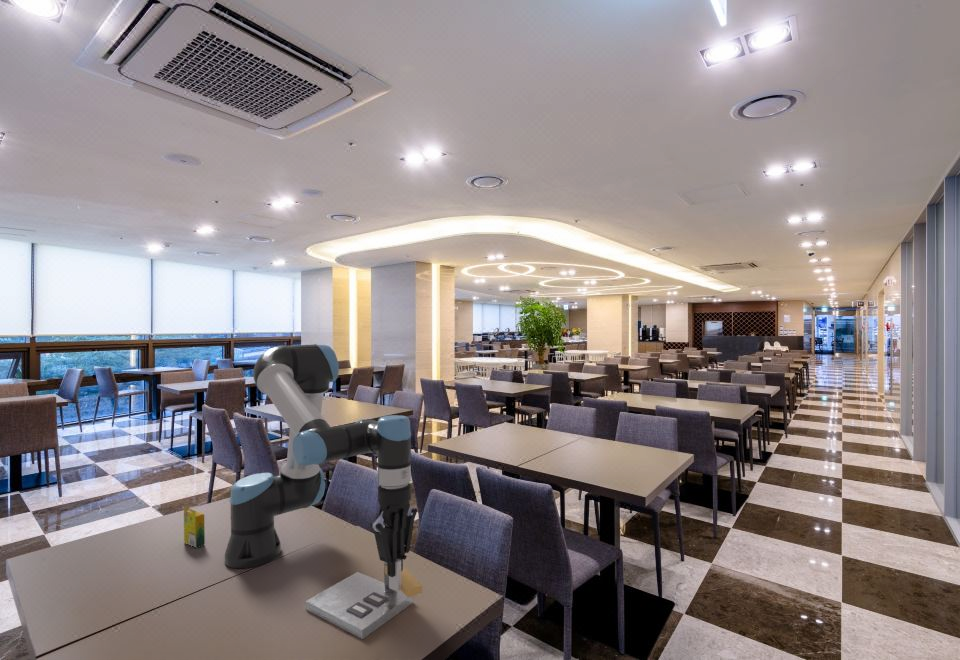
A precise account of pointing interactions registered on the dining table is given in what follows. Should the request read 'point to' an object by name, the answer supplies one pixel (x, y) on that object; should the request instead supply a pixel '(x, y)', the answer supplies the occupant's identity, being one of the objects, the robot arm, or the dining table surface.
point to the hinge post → (387, 584)
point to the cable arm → (407, 583)
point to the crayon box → (193, 528)
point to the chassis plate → (349, 593)
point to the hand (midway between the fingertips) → (395, 588)
